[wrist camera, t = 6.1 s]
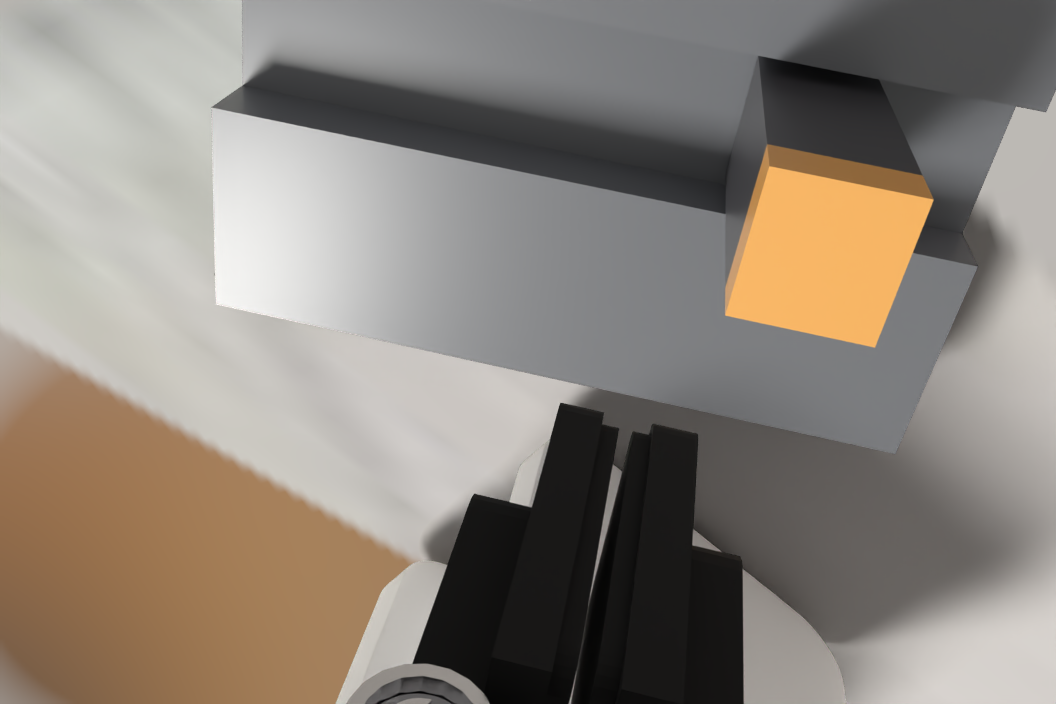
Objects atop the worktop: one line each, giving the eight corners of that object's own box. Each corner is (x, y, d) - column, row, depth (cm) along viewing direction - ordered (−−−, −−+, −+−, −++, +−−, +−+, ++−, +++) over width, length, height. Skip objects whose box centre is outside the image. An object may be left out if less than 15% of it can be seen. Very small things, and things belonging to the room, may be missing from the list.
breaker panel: (1109, -193, 23) (1179, -182, 19) (877, 378, 32) (896, 458, 28) (274, -341, 24) (196, -356, 21) (268, 246, 33) (212, 307, 29)
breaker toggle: (878, 78, 25) (933, 199, 18) (838, 197, 26) (874, 347, 20) (758, 55, 25) (769, 166, 18) (725, 174, 27) (724, 315, 20)
